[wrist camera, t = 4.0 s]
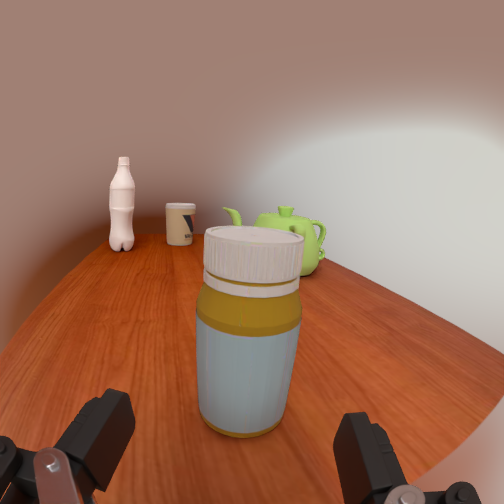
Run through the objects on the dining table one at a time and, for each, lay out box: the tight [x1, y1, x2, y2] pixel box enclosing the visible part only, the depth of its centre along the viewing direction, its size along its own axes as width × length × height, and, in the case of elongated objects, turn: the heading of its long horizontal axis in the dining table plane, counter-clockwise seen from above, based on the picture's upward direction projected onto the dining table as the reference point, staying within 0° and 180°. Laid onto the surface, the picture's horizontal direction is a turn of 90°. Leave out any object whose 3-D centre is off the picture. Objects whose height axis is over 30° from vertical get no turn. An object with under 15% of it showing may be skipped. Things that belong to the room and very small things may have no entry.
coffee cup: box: [166, 203, 196, 246], centre depth 83 cm, size 9×9×12 cm
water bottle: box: [109, 157, 135, 251], centre depth 68 cm, size 7×7×25 cm
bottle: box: [196, 226, 305, 438], centre depth 19 cm, size 7×7×15 cm
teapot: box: [223, 206, 326, 276], centre depth 63 cm, size 19×20×14 cm
